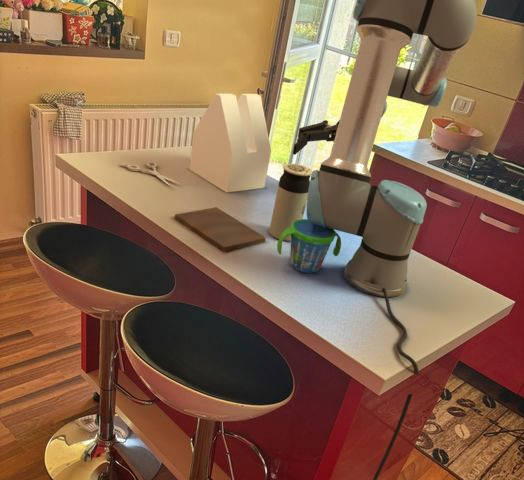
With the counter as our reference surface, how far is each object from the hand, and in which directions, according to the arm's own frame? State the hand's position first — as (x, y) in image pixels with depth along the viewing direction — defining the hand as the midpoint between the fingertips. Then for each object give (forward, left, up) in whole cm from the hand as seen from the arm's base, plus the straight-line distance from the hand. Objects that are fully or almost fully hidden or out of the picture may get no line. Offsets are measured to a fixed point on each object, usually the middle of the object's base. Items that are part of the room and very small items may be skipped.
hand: (317, 160), depth 141 cm
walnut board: (0, +25, -19) cm, 31 cm away
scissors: (+37, +31, -19) cm, 52 cm away
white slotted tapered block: (+36, +8, -19) cm, 42 cm away
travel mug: (-4, +8, -19) cm, 21 cm away
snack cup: (-21, +11, -19) cm, 30 cm away
